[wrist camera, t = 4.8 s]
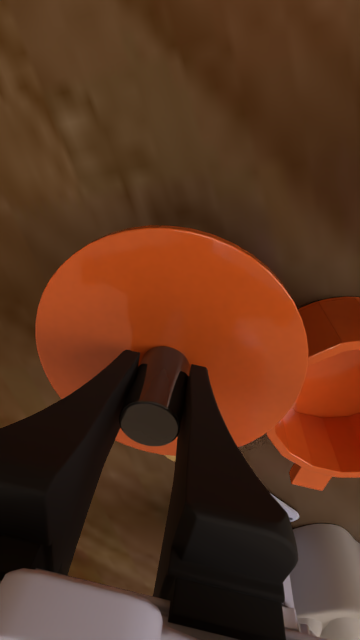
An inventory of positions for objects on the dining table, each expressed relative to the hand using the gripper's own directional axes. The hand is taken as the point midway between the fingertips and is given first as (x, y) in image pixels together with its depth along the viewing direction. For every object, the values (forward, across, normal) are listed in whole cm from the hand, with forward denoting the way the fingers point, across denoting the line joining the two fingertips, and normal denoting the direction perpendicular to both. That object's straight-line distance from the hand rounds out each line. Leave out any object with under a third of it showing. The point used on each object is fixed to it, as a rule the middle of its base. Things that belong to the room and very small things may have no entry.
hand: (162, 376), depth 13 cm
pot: (+10, -12, +4) cm, 16 cm away
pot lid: (+1, 0, 0) cm, 1 cm away
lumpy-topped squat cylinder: (+10, -20, +30) cm, 38 cm away
